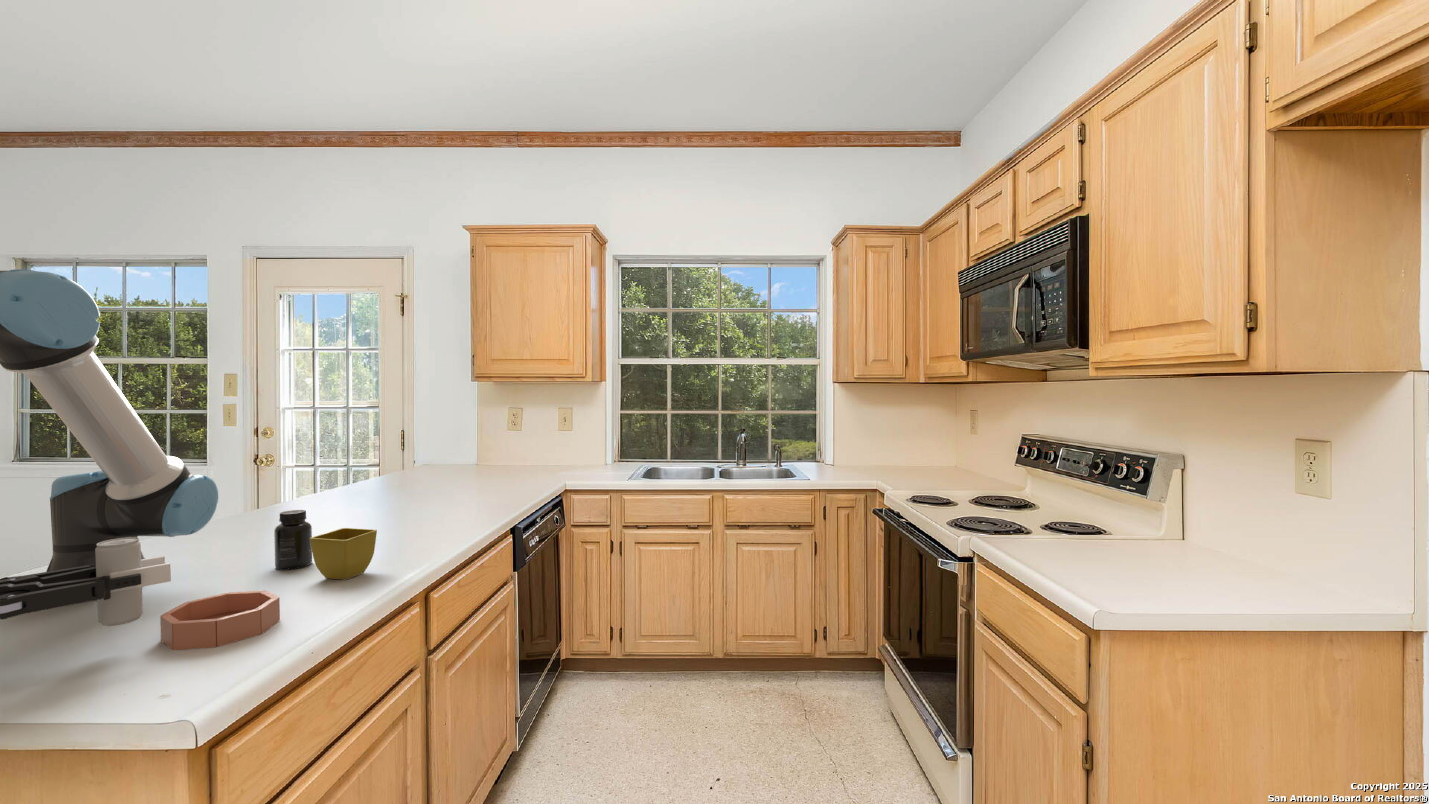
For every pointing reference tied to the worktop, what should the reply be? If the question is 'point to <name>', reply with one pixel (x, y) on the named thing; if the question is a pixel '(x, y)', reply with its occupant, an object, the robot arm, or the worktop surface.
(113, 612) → the beverage can
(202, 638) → the terracotta bowl
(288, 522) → the supplement bottle
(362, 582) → the worktop surface
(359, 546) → the flower pot
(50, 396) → the robot arm
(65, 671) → the worktop surface
